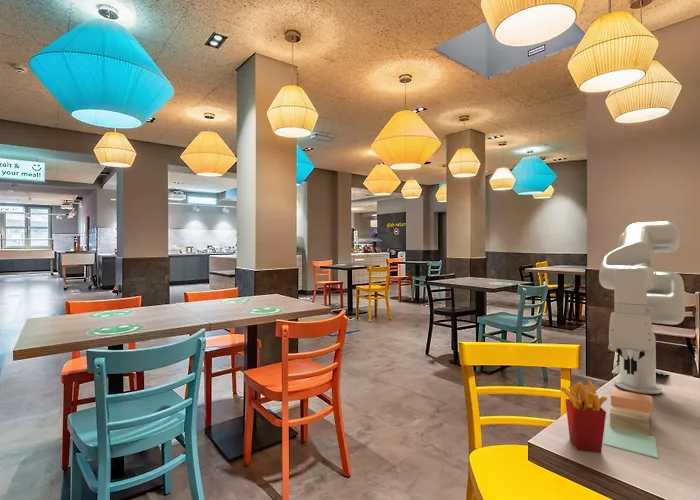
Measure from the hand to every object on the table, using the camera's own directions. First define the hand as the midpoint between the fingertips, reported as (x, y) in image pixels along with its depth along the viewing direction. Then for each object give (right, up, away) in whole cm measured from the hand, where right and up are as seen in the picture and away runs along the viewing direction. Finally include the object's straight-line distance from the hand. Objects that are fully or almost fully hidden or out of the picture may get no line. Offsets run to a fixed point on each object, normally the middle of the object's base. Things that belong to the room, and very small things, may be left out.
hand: (630, 373), depth 107 cm
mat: (-13, -11, -17) cm, 24 cm away
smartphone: (+25, -9, +24) cm, 36 cm away
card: (-4, -7, -6) cm, 10 cm away
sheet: (-5, -11, -6) cm, 14 cm away
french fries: (-26, -11, -18) cm, 34 cm away
